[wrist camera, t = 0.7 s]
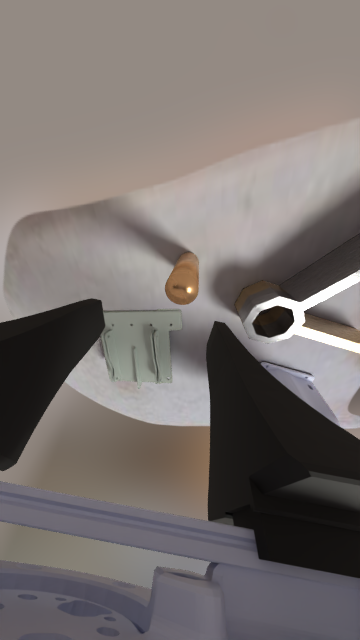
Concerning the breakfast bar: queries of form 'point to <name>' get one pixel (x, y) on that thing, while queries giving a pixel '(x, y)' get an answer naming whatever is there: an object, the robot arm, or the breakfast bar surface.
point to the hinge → (303, 301)
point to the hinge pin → (184, 280)
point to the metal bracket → (139, 344)
